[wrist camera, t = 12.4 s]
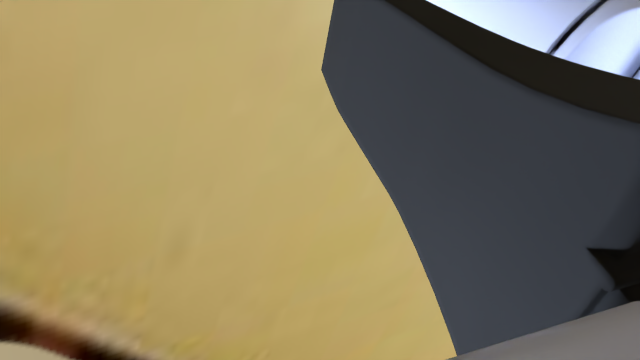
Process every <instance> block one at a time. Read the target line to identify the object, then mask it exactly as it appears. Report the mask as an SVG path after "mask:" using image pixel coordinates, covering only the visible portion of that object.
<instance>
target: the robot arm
mask: <svg viewBox="0 0 640 360" xmlns="http://www.w3.org/2000/svg"><path fill="white" fill-rule="evenodd" d="M321 70H322V73H323V75H324V78H325V80H326V83H327V86H328V88H329V91H330V93H331V95H332V98H333V100H334V102H335V105H336V107H337V109H338V111H339V113H340V115H341V116H342V118H343V120H344V122H345V123H346V125H347V127H348V128H349V130H350V132H351V133H352V135H353V137H354V138H355V140H356V142H357V143H358V145H359V146H360V148H361V150H362V151H363V153H364V154H365V156H366V158H367V159H368V161H369V163H370V164H371V166H372V167H373V169H374V171H375V172H376V174H377V175H378V177H379V179H380V180H381V182H382V184H383V185H384V187H385V188H386V190H387V192H388V193H389V195H390V197H391V199H392V201H393V202H394V204H395V206H396V208H397V210H398V212H399V214H400V216H401V218H402V220H403V222H404V224H405V227H406V229H407V231H408V233H409V235H410V237H411V240H412V242H413V244H414V246H415V248H416V250H417V253H418V255H419V258H420V260H421V262H422V265H423V267H424V269H425V272H426V274H427V277H428V279H429V281H430V284H431V286H432V288H433V291H434V293H435V296H436V299H437V301H438V304H439V307H440V309H441V312H442V315H443V317H444V320H445V323H446V325H447V328H448V331H449V333H450V336H451V339H452V342H453V345H454V348H455V351H456V354H457V356H456V357H453V358H450V359H446V360H640V0H334V5H333V10H332V15H331V21H330V26H329V32H328V37H327V42H326V48H325V53H324V58H323V64H322V69H321Z"/></svg>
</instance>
